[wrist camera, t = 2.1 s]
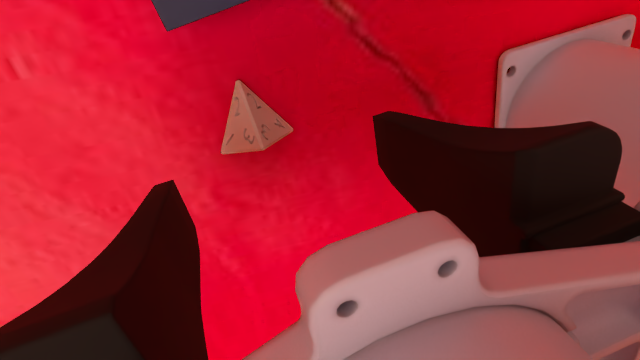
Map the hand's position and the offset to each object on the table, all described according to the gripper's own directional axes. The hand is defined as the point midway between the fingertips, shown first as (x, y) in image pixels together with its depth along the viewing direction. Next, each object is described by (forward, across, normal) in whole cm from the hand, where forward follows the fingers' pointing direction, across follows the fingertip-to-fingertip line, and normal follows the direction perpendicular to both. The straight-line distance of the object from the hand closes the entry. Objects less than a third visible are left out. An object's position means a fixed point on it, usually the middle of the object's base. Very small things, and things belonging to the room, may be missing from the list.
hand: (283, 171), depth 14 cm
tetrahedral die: (+5, 0, 0) cm, 5 cm away
